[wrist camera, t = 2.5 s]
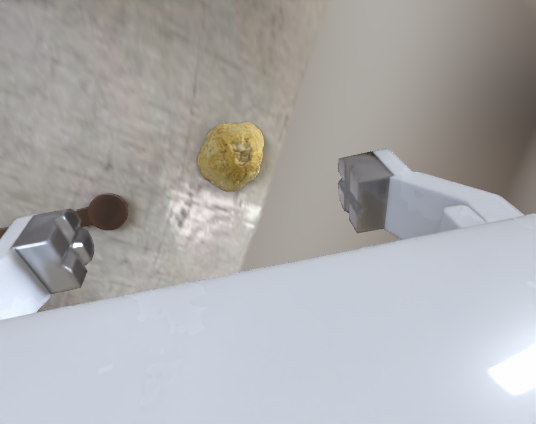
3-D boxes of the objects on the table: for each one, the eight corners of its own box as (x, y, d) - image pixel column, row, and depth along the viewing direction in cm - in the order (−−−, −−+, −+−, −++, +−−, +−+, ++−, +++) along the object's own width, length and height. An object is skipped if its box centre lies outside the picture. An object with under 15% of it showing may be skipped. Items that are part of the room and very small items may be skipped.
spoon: (-16, 258, 45) (-22, 262, 44) (-31, 222, 44) (-37, 224, 43) (132, 223, 51) (131, 225, 49) (122, 189, 50) (122, 191, 48)
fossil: (229, 109, 47) (284, 149, 51) (225, 104, 52) (275, 140, 56) (186, 173, 49) (242, 207, 53) (186, 162, 54) (237, 193, 58)
